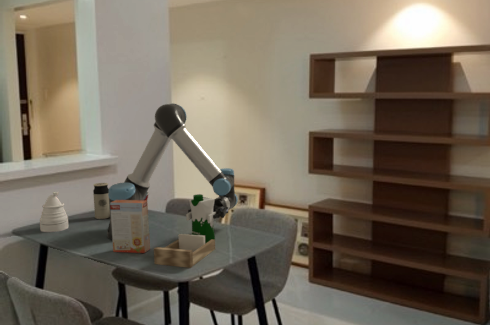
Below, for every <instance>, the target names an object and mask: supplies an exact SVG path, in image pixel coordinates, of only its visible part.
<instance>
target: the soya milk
mask: <svg viewBox="0 0 490 325" xmlns="http://www.w3.org/2000/svg"><path fill="white" fill-rule="evenodd" d="M192 197H193V198H191V199H189V201H188V202H189V205H190V209H191V213H192V219H191V235H203V236H205V244H206V243H207V242H209V241H210V240H211V239H213V240H215V241H216V237H215V227H214V226H215V225H214V220H215V219H214V220H212V221H211V222H208V215H210V214H211V213H213V206H214V201H215V199H216V198H212V197H211V198H210V197H205V196H204V194H200V193H199V194H193V196H192Z"/></svg>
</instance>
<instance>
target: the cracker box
mask: <svg viewBox="0 0 490 325" xmlns="http://www.w3.org/2000/svg"><path fill="white" fill-rule="evenodd" d="M148 206H149V205H148V199H147V200H115V201H113V202H111V203H110V208H111V224H112V239H111V240H112V250H113V252H114V253H129V254H130V253H131V254H132V253H133V254H134V253H135V254H145V253H147V252H148V251H149V250H151V241H150V238H151V237H150V224H149V221H150V220H149V207H148Z"/></svg>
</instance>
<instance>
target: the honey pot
mask: <svg viewBox="0 0 490 325" xmlns="http://www.w3.org/2000/svg"><path fill="white" fill-rule="evenodd" d="M59 192H60V191H54V192H52V194H50V195H49V196H48V197H47V198H46V199H45V200H46V201H45V203H44V204H43V205H42V211H41V215H40V218H39V227H40V232H43V233H54V232H55V233H56V232H61V231H65V230H67V229H69V216H68V215H67V212H66V210H65V208H64V206H65V203H64V202H61V201H60V199H59V198H58V195H59Z"/></svg>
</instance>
